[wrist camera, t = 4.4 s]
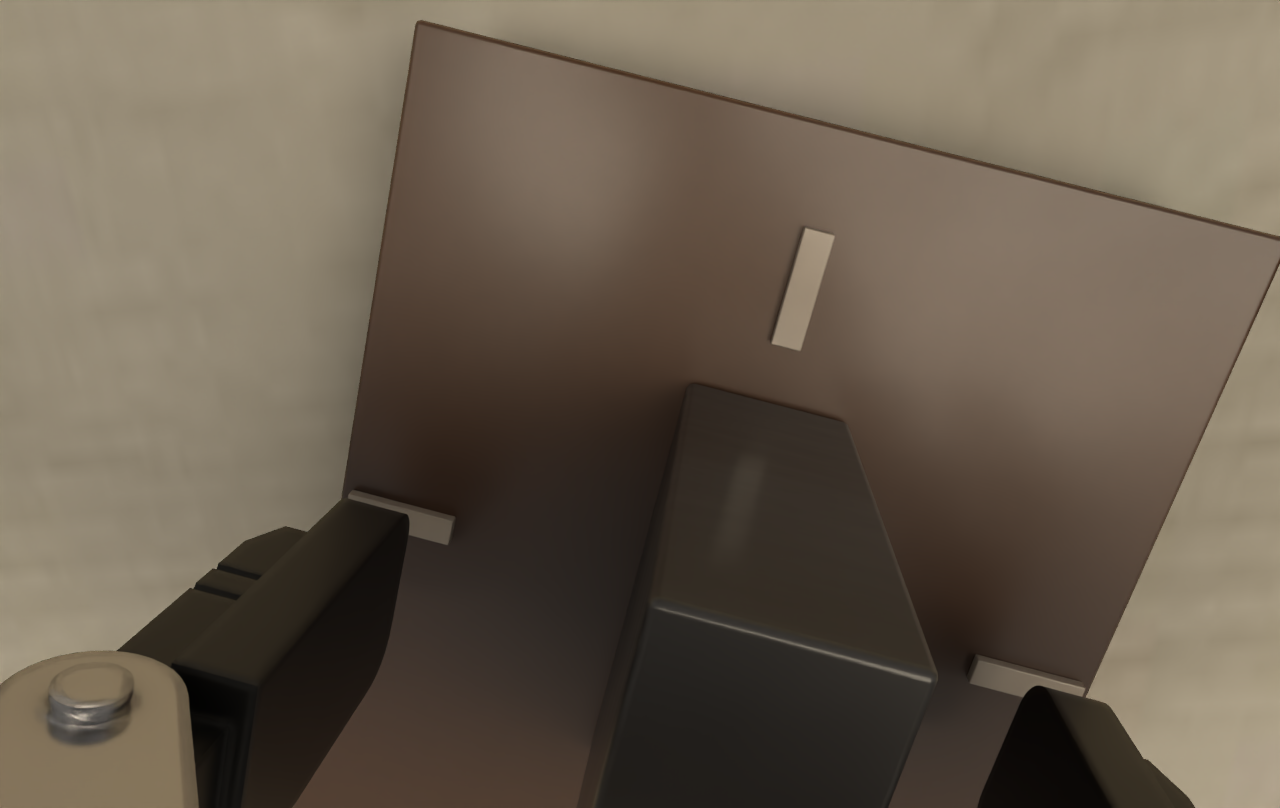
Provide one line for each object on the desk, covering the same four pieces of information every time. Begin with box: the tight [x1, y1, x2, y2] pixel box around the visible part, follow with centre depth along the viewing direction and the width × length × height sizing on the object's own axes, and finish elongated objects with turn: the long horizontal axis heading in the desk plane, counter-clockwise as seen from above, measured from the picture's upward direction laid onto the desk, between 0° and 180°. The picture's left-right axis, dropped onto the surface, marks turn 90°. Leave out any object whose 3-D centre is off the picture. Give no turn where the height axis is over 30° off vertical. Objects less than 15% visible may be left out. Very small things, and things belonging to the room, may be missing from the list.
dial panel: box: [293, 20, 1280, 808], centre depth 14 cm, size 12×10×3 cm
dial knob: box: [577, 384, 938, 808], centre depth 10 cm, size 6×2×6 cm, turn 167°
